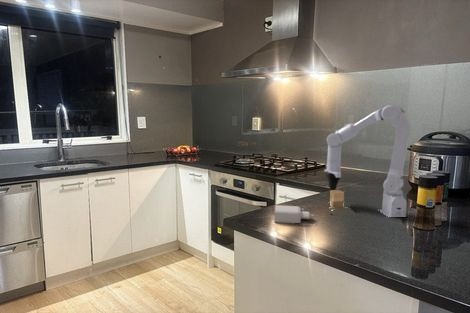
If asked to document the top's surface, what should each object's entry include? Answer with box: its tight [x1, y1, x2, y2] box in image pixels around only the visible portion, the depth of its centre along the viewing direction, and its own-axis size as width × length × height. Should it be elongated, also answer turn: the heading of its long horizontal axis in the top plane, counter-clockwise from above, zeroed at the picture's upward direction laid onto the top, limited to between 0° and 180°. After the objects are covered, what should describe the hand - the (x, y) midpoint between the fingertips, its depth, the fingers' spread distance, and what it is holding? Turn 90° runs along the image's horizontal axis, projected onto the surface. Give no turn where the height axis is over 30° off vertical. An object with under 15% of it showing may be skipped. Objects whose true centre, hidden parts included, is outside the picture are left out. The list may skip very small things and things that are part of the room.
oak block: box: [329, 189, 345, 207], centre depth 140 cm, size 4×4×7 cm
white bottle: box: [274, 204, 315, 224], centre depth 125 cm, size 5×9×15 cm
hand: (332, 190), depth 146 cm, fingers closed
